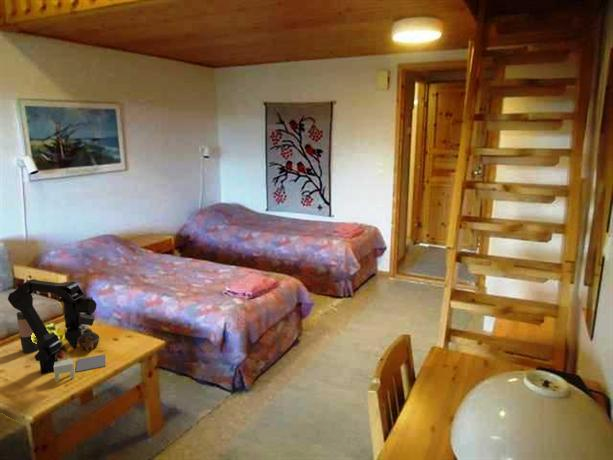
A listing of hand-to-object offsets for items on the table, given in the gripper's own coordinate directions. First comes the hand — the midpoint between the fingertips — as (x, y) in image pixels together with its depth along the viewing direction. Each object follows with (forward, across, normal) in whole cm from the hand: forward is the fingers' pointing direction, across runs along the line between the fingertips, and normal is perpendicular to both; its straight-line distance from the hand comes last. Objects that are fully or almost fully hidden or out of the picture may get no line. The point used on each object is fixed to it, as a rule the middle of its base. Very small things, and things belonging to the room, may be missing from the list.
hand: (75, 344), depth 195 cm
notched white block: (+13, -3, +5) cm, 14 cm away
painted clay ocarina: (+14, +24, -5) cm, 28 cm away
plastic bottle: (+14, +35, -3) cm, 38 cm away
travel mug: (+14, +34, +20) cm, 42 cm away
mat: (+13, +6, -5) cm, 15 cm away
